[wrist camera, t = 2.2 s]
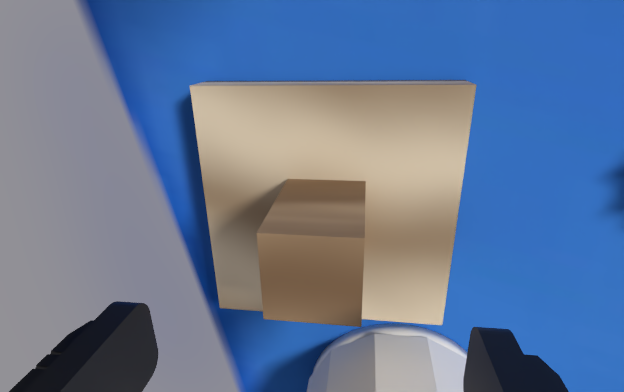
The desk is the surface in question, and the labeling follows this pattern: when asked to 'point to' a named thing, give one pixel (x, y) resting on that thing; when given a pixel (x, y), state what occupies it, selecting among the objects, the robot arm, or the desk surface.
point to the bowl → (390, 361)
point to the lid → (333, 195)
